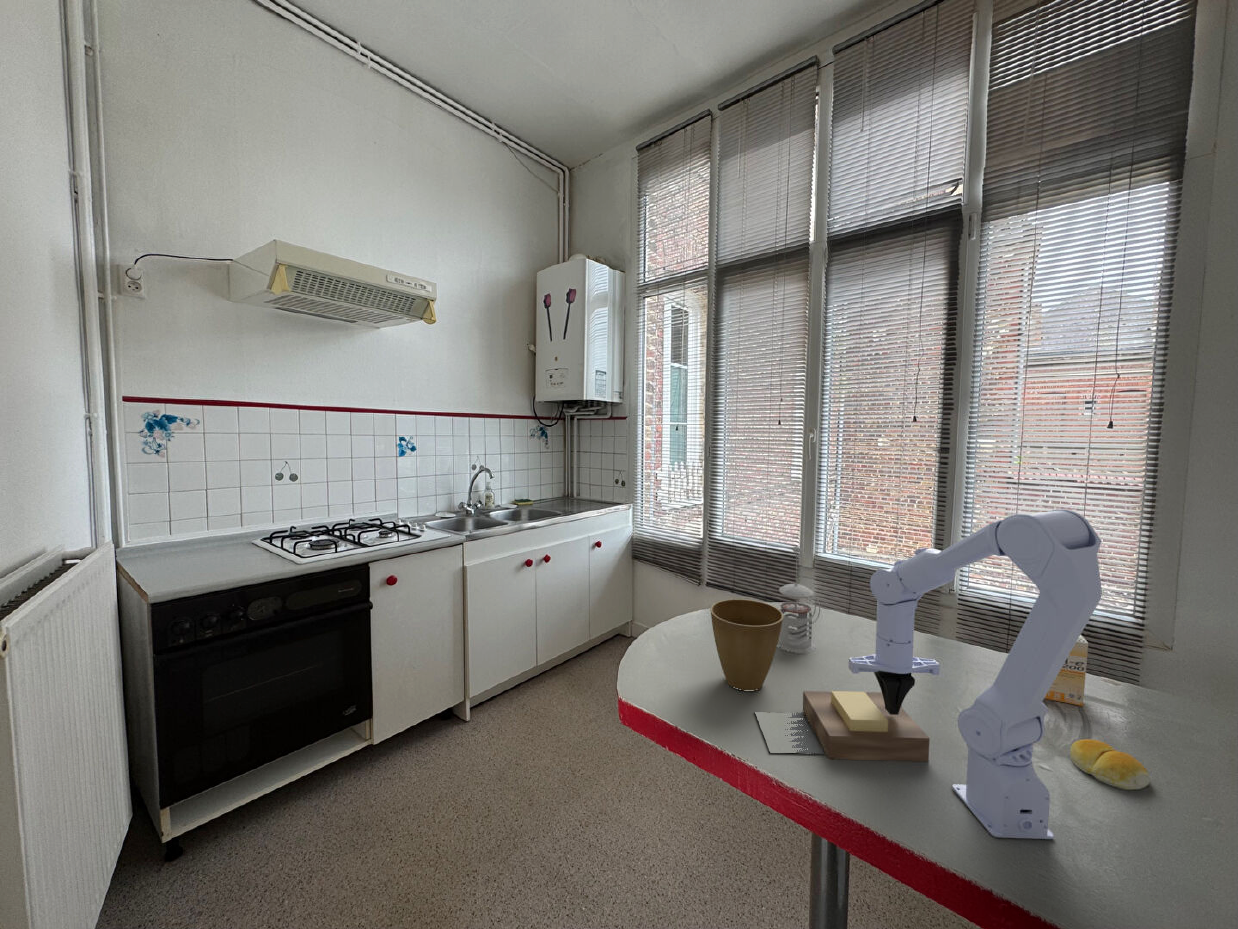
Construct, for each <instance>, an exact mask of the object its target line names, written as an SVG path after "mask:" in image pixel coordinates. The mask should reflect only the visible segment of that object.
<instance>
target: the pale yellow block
mask: <svg viewBox="0 0 1238 929" xmlns="http://www.w3.org/2000/svg"><path fill="white" fill-rule="evenodd" d="M830 692H831V702H832V704H833V705H834V707H835V708H836V710H837V711H838V713H839V714H840V716H841V717H842V719H843V720H844V722H845V723H846V725H847V726H848V728H849V729H850V731H874V732H887V731H888V720H887V719H886V717H885V716H884V715H883V714H882V713H881V711H880V710H879V709H878V708H877V706H876V705H875V704H874V703H873V702H872V700H871V699H870V698H869V697H868V695H867V694H866V693H865V692H866V691H850V690H849V691H848V690H847V691H846V690H845V691H844V690H842V691H840V690H837V691H835V690H830Z"/></svg>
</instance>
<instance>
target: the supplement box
mask: <svg viewBox="0 0 1238 929" xmlns="http://www.w3.org/2000/svg"><path fill="white" fill-rule="evenodd" d="M1088 651H1089V642H1088V641H1087V640H1086V639H1085V637H1084V636H1083V635H1082V634H1081V635H1080V636H1079V638H1078V640H1077V642H1076V643H1075V645H1074V647H1073V649H1072V650H1071V652H1070V654H1069V656H1068V657H1067V659H1066V661H1065V663H1064V664H1063V666H1062V668H1061V670H1060V671H1059V673H1058V675H1057V677H1056V678H1055V680H1054V682H1053V684H1052V686H1051V687H1050V689H1049V691H1048V693H1047V694H1046V696H1045V698H1044V700H1051V701H1055V702H1061V703H1064V704H1065V703H1067V704H1070V705H1071V704H1072V705H1076V706H1080V707H1083V706H1084V698H1085V697H1084V696H1085V686H1086V685H1085V684H1086V677H1087V676H1086V675H1087V674H1086V673H1087V663H1088Z"/></svg>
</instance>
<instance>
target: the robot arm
mask: <svg viewBox="0 0 1238 929" xmlns="http://www.w3.org/2000/svg"><path fill="white" fill-rule="evenodd" d="M1102 542H1103V541H1102V539H1101V537H1100V536H1099V535H1098V534H1097V532H1096V531H1095V529H1094V528H1093V526H1092V525H1091V524H1090V522H1089V521H1088V519H1087V518H1085V517H1084V516H1083V515H1082V514H1079V513H1078V512H1076V511H1073V510H1071V509H1070V510H1069V509H1064V508H1059V509H1052V510H1049V511H1044V512H1043V511H1042V512H1036V513H1035V512H1034V513H1014V514H1011V515H1009V516H1007V517H1005V518H1004V519H1001V520H997V521H993V522H990V523H988V524H987V525H985V526H983V527H982V528H980V529H979V530H977V531H975V532H973V533H971V534H970V535H967V536H966V537H963V538H962V539H961V540H959V541H957V542H956V543H954V544H952V545H950V546H949V547H947V548H945V549H943V550H941V549H940V550H939V549H938V548H934V547H933V548H932V547H931V548H927V547H920V548H917V549H916V550H914V554H915V555H913V556H911V557H909V558H907V559H905V560H902V559H901V560H897V561H895V562H894V563H893V564H894V566H893V567H892V568H879V569H877V570H876V571H875V572H873V573H872V575H871V576H870V580H869V586H870V591H871V593H872V595H873V597H875V599H876V600H877V602H876V628H875V630H876V631H875V632H876V633H875V654H870V655H864V656H859V657H848V669H849V670H850V672H851V673H852V674H860V672H861V673H862V672H864V673H866V672H867V673H873V674H874V677H875V678H876V680H877V682H878V685H879V688H880V692H881V693H882V695H883V699H884V704H885V709H886V710H887V711H888V712H889V714H891V715H898V714H899V711H900V708H901V707H902V704H903V703H904V700H905V698H906V697H907V695H908V694H909V692H910V690H912V688H913V687H914V686H915V683H916V678H915V677H913V675H912V674H915V673H917V674H918V673H919V674H931V675H932V676H940V668H941V667H940V663H939V662H937V661H936V660H935V659H934V658H922V657H916V656H914V637H915V636H914V634H915V618H916V617H915V615H916V614H915V613H916V609H918V602H919V600H920V599H921V598H923V595H924V594H926V593H928V592H930V591H933V590H935V589H938V588H940V587H942V586H945V585H947V584H950V583H952V582H953V581H954V579H955V577H956V575H957V574H956V573H957V572H956V570H960V569H961V568H964V567H967V566H968V565H969V566H970V565H972V564H974V563H977V562H979V561H982V560H984V559H986V558H989V557H993V556H994V555H995V556H997V557H1004V556H1006V557H1007V558H1008V559H1009V560H1010V561H1011V562H1012V563H1014V565H1015V566H1016V567H1017V568H1018V569H1019V570H1021V572H1022V573H1023V574H1025V576H1026V577H1028V579H1029V580H1030V581H1031V582H1032V583H1033V584H1034V585H1035V586H1036V588H1037V589H1038V591H1039V594H1038V596H1037V598H1036V600H1035V602H1034V603H1033V606H1032V608H1031V610H1030V611H1029V614H1028V615H1027V618H1026V619H1025V621H1024V623H1023V625H1022V626H1021V629H1020V631H1019V633H1018V635H1017V637H1016V640H1014V643H1013V644H1012V647H1011V649H1010V651H1009V653H1008V655H1007V656H1006V658H1005V661H1004V662H1003V664H1002V666H1001V669H1000V671H999V672H998V674H997V676H996V678H995V680H994V681H993V684H992V685H990V687H988V688H987V689H985V691H983V692H982V693H980V694H979V695H978V696H977V697H976V698H975V700H974V702H973V703H972V705H971V706H969V707H967V708H964V709H962V710H961V711H960V712H959V714H958V717H957V726H958V730H959V733H960V735H961V738H962V739H963V740H964V742H965V743H966V747H967V764H966V784H957V783H954V784H952V785H951V786H952V787H951V788H952V790H953V791H954V792H955V794H957V796H958V797H959V798H960V799H961V800H962V802H963V803H964V804H965V805H966V806H967V807H968V809H969V810H970V811H971V812H972V814H973V815H974V816H975V817H976V818H977V819H978V821H979V822H980V823H981V824H982V825H983V827H984V828H985V829H986V830H987V831H988V833H990V835H991V836H993V837H994V838H1002V839H1003V838H1007V839H1008V838H1010V839H1011V838H1012V839H1034V840H1035V839H1036V840H1038V839H1039V840H1040V839H1042V840H1044V839H1045V840H1054V839H1055V835H1054V833H1053V832H1052V830H1051V831H1050V829H1049V817H1050V801H1051V796H1050V793H1049V789H1048V787H1047V786H1046V785H1045V783H1044V782H1043V781H1042V780H1041V779H1040V777H1039V776H1038V774H1037V772H1036V771H1035V768H1034V764H1033V760H1032V759H1033V752H1034V744H1036V743H1039V742H1040V741H1041V740H1042V739H1043V738H1044V736H1045V731H1046V728H1045V726H1046V725H1045V717H1046V715H1047V713H1048V711H1049V708H1048V707H1047V706H1046V704H1045V703H1044V702H1043V701H1044V700H1045V699H1044V698H1045V696H1046V694H1047V693H1048V691H1049V689H1050V687H1051V686H1052V684H1053V682H1054V680H1055V678H1056V677H1057V675H1058V673H1059V671H1060V670H1061V668H1062V666H1063V664H1064V663H1065V661H1066V659H1067V657H1068V656H1069V654H1070V652H1071V650H1072V649H1073V647H1074V645H1075V643H1076V642H1077V640H1078V638H1079V636H1080V635H1081V636H1082V633H1083V631H1084V629H1085V627H1086V625H1087V624H1088V622H1089V621H1090V619H1091V617H1092V615H1093V613H1094V612H1095V610H1096V609H1097V606H1098V605H1099V603H1100V602H1101V599H1102V596H1103V590H1102V584H1101V583H1102V582H1101V575H1100V567H1099V566H1100V564H1099V559H1098V552H1099V550H1100V547H1101V545H1102Z"/></svg>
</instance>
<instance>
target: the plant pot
mask: <svg viewBox="0 0 1238 929" xmlns="http://www.w3.org/2000/svg"><path fill="white" fill-rule="evenodd" d="M783 615H784V614H783V613H782V612H781V611H780V609H779V608H777V607H776V606H774V605H772V604H769V603H766V602H762V601H758V600H753V599H744V598H741V599H740V598H739V599H738V598H733V599H732V598H731V599H724V600H720V601H717V602H715V603H713V604H712V605H711V606H710V616H711V617H710V618H711V624H712V630H713V638H714V642H715V647H716V651H717V655H718V659H719V663H720V666H721V669H722V672H723V675H724V677H725V678H724V679H725V681H726V683H727V682H728V683H727V684H728V685H729V687H731V686H732V687H735V688H738V689H741V690H756V689H759V688H760V687H761V688H762V687H763V685H764V683H765V681H766V678H767V677H768V674H769V671H770V669H771V666H772V663H773V661H774V657H775V654H776V651H777V648H778V647H777V645H778V641H779V636H780V632H781V627H782V621H783ZM732 687H731V688H732ZM761 688H760V689H761ZM760 689H759V690H760Z"/></svg>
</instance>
